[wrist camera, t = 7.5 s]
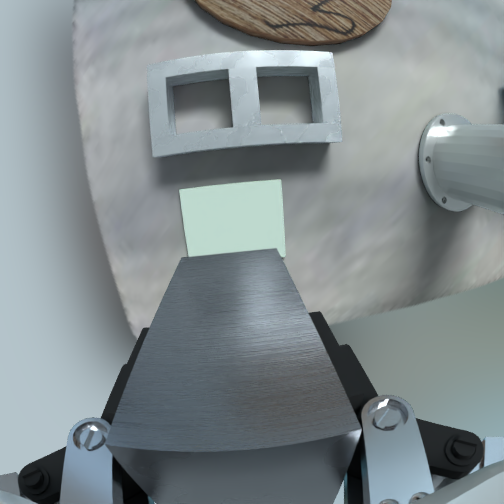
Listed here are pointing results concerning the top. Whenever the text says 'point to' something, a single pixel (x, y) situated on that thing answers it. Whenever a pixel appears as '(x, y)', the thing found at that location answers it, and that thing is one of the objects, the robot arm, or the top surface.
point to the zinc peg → (234, 392)
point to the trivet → (299, 18)
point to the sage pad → (233, 217)
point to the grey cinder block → (243, 100)
